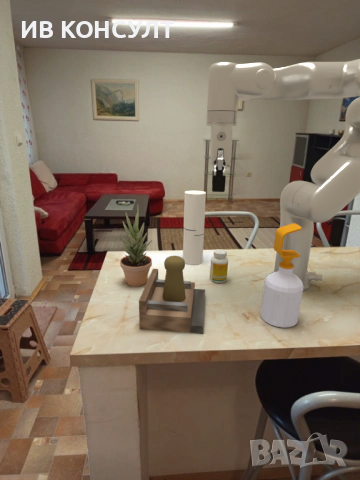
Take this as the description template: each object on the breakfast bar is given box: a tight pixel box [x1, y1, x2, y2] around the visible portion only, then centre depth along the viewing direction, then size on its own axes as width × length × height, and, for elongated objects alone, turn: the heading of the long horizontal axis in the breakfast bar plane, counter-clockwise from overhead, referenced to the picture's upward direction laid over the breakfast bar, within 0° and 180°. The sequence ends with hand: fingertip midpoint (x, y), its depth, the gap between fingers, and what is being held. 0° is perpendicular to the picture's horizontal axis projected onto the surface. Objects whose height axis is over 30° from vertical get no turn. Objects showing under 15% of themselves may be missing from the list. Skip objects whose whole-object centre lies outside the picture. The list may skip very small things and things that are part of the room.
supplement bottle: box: [209, 249, 229, 284], centre depth 99 cm, size 5×5×10 cm
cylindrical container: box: [182, 189, 207, 266], centre depth 110 cm, size 7×7×25 cm
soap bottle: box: [260, 223, 304, 328], centre depth 76 cm, size 9×9×25 cm
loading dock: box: [138, 268, 206, 335], centre depth 81 cm, size 15×18×8 cm
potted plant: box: [119, 205, 153, 287], centre depth 94 cm, size 10×10×25 cm
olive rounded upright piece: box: [162, 255, 186, 302], centre depth 80 cm, size 6×6×11 cm
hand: (217, 188), depth 84 cm, fingers open, 9 cm apart
